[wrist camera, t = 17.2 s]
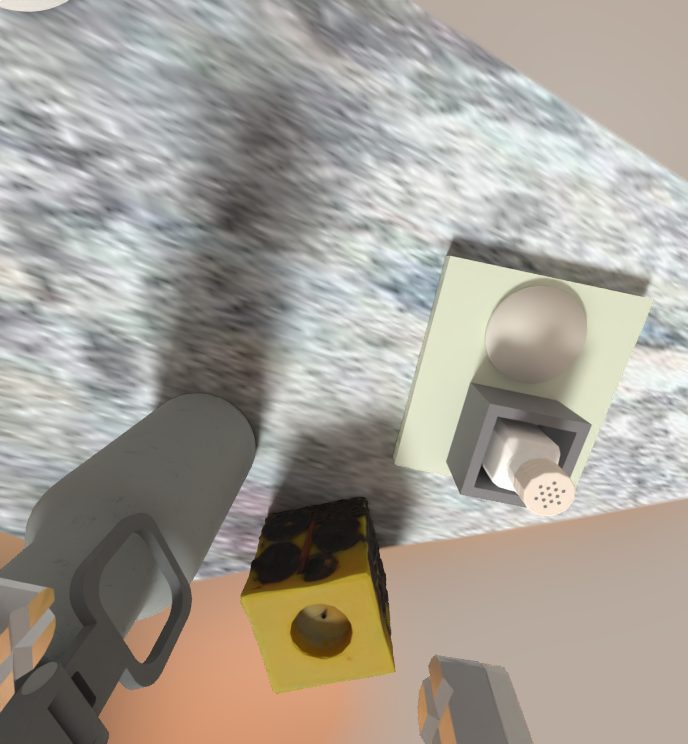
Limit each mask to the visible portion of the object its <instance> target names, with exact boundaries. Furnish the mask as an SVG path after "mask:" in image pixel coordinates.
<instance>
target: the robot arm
mask: <svg viewBox="0 0 688 744" xmlns="http://www.w3.org/2000/svg"><path fill="white" fill-rule="evenodd" d="M67 1H68V0H0V7H2V8H6V9H10V10H15V11H41V10H46V9H50V8H53V7H56V6H58V5H61V4H63V3H65V2H67ZM54 601H55V598H54V589H53V588H49V587H44V586H39V585H34V584H29V583H24V582H19V581H14V580H9V579H4V578H0V712H1V711H2V710H3V708H4V707H5V706H6V704H7V703H8V702H9V700H10V699H11V698H12V696H13V695H14V694H15V684H16V680H17V679H18V678H20V677H21V676H23V675H25V674H26V673H28V672H29V671H31V670H33V669H34V667H35V666H36V665H37V663H38V662H39V661H40V659H41V658H42V656H43V655H44V654H45V652H46V650H47V648H48V646H49V644H50V642H51V640H52V638H53V634H54V630H55V626H56V619H55V615H54V614H53V613H52V612H51V610H50V609H49V607H50V606H51V604H52V603H53V602H54ZM429 673H430V676H429V677H428V678H426V679H425V680H423V682H422V685H421V688H420V691H419V699H418V724H419V732H420V736H421V737H422V739H423V740H424V742H425V744H534V743H533V741H532V738H531V735H530V732H529V729H528V727H527V724H526V721H525V718H524V715H523V713H522V710H521V707H520V705H519V702H518V699H517V696H516V693H515V691H514V688H513V685H512V682H511V679H510V677H509V674H508V672H507V671H506V669H505V668H504V667H501V666H497V665H490V664H484V663H479V662H477V661H470V660H464V659H458V658H452V657H445V656H439V655H435V656H433V657H432V658H431V661H430V663H429Z"/></svg>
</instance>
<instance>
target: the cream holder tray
mask: <svg viewBox="0 0 688 744" xmlns="http://www.w3.org/2000/svg"><path fill="white" fill-rule="evenodd" d="M653 301H654V299H650V298H645V297H640V296H636V295H631V294H626V293H622V292H617V291H612V290H608V289H603V288H598V287H594V286H589V285H584V284H580V283H575V282H570V281H566V280H561V279H556V278H552V277H547V276H542V275H538V274H533V273H528V272H524V271H519V270H514V269H510V268H505V267H500V266H496V265H491V264H486V263H482V262H477V261H472V260H468V259H463V258H458V257H454V256H446V258H445V262H444V266H443V269H442V273H441V277H440V281H439V285H438V288H437V292H436V296H435V300H434V303H433V307H432V311H431V315H430V319H429V322H428V326H427V330H426V334H425V337H424V341H423V345H422V349H421V353H420V356H419V360H418V364H417V368H416V371H415V375H414V379H413V383H412V386H411V390H410V394H409V398H408V402H407V405H406V409H405V413H404V417H403V420H402V424H401V428H400V432H399V436H398V439H397V443H396V447H395V451H394V454H393V460H394V465H397V466H402V467H407V468H412V469H417V470H422V471H427V472H432V473H437V474H442V475H446V476H451V477H453V479H454V481H455V483H456V486H457V488H458V490H459V492H460V494H461V495H466V496H471V497H476V498H481V499H486V500H491V501H496V502H501V503H506V504H511V505H516V506H521V507H526V505H525V504H524V502H523V501H522V499H521V498H520V496H519V495H518V494H517V493H516V492H515V491H512V490H508V489H504V488H501V487H498V486H497V485H496V484H494V483H493V482H492V481H491V479H490V477H489V476H488V474H487V472H486V471H485V469H484V468H483V466H482V461H483V458H484V455H485V452H486V449H487V446H488V443H489V440H490V437H491V434H492V431H493V429H494V426H495V423H496V420H497V417H503V418H508V419H513V420H518V421H523V422H528V423H532V424H535V425H536V426H537V427H538V428H539V429H540V430H541V431H542V432H544V433H545V434H546V435H547V436H548V437H549V438H550V439H551V440H552V441H553V442H554V443H555V444H556V445H558V446H559V450H560V458H559V462H558V466H559V467H560V468H561V469H562V470H563V471H564V472H565V473H566V474H567V475H568V476H569V477H570V479H571V480H572V482H573V484H574V485H575V487H576V485H577V483H578V480H579V478H580V476H581V473H582V471H583V468H584V466H585V464H586V461H587V459H588V457H589V454H590V452H591V449H592V447H593V445H594V442H595V440H596V437H597V435H598V433H599V430H600V428H601V425H602V423H603V421H604V418H605V416H606V413H607V411H608V409H609V406H610V404H611V402H612V399H613V397H614V394H615V392H616V390H617V387H618V385H619V382H620V380H621V378H622V375H623V373H624V370H625V368H626V366H627V363H628V361H629V358H630V356H631V354H632V351H633V349H634V347H635V344H636V342H637V339H638V337H639V335H640V332H641V330H642V327H643V325H644V323H645V320H646V318H647V315H648V313H649V311H650V308H651V306H652V303H653ZM526 508H527V507H526Z"/></svg>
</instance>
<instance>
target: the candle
mask: <svg viewBox="0 0 688 744" xmlns="http://www.w3.org/2000/svg"><path fill="white" fill-rule="evenodd" d="M372 522H373V521H372V520H371V518H370V514H369V509H368V501H367V500H366V498H363V497H360V498H352V499H349V500H339V501H336V502H334V503H325V504H322V505H314V506H311V507H305V508H302V509H298V510H293V511H285V512H281V513H278V514H277V513H271V514H270V515H269V516H268V517H267V518H265V525H264V526H263V528H262V531H261V532H262V534H261V536H260V537H259V544H258V550H257V553H256V556H255V559H254V560H253V561H252V564H251V569H250V574H249V577H248V580H247V582H246V584H245V587H244V589H243V591H242V593H241V605H242V607H243V609H244V611H245V613H246V615H247V617H248V618H249V621H250V623H251V624H252V628H253V632H254V635H255V638H256V640H257V643H258V645H259V648H260V651H261V654H262V657H263V660H264V664H265V667H266V670H267V674H268V677H269V680H270V683H271V686H272V690H273V691H274V692H275V693H276V694H279V693H284V692H289V691H294V690H299V689H305V688H311V687H316V686H320V685H325V684H331V683H335V682H342V681H349V680H355V679H362V678H369V677H374V676H380V675H385V674H390V673H394V672H395V665H394V657H393V647H392V641H391V627H390V612H389V603H388V591H387V589H386V574H385V572H384V569H383V563H382V560H381V559H380V553H379V546H378V543H377V540H376V536H375V530H374V526H373V523H372Z"/></svg>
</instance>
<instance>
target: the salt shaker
mask: <svg viewBox="0 0 688 744" xmlns="http://www.w3.org/2000/svg"><path fill="white" fill-rule="evenodd" d="M559 458H560V450H559V446H558V445H556V444H555V443H554V442H553V441H552V440H551V439H550V438H549V437H548V436H547V435H546V434H545V433H544V432H542V431H541V430H540V429H539V428H538V427H537V426H536V425H535V424H532V423H528V422H523V421H518V420H513V419H508V418H503V417H497V420H496V423H495V426H494V429H493V431H492V434H491V437H490V440H489V443H488V446H487V449H486V452H485V455H484V458H483V461H482V466H483V468H484V469H485V471H486V472H487V474H488V476H489V477H490V479H491V481H492V482H493V483H494V484H496V485H497V486H498V487H501V488H504V489H508V490H512V491H515V492H516V493H517V494H518V495H519V496H520V498H521V499H522V501H523V502H524V504H525V505H526V507H527V508H528V510H529V511H531V512H533V513H535V514H537V515H539V516H555V515H557V514H559V513H561V512H563V511H565V510H567V509H568V507H569V506H570V505H571V503H572V502H573V501H574V499H575V489H576V487H575V485H574V484H573V482H572V480H571V479H570V477H569V476H568V475H567V474H566V473H565V472H564V471H563V470H562V469H561V468H560V467H559V466H558V462H559Z"/></svg>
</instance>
